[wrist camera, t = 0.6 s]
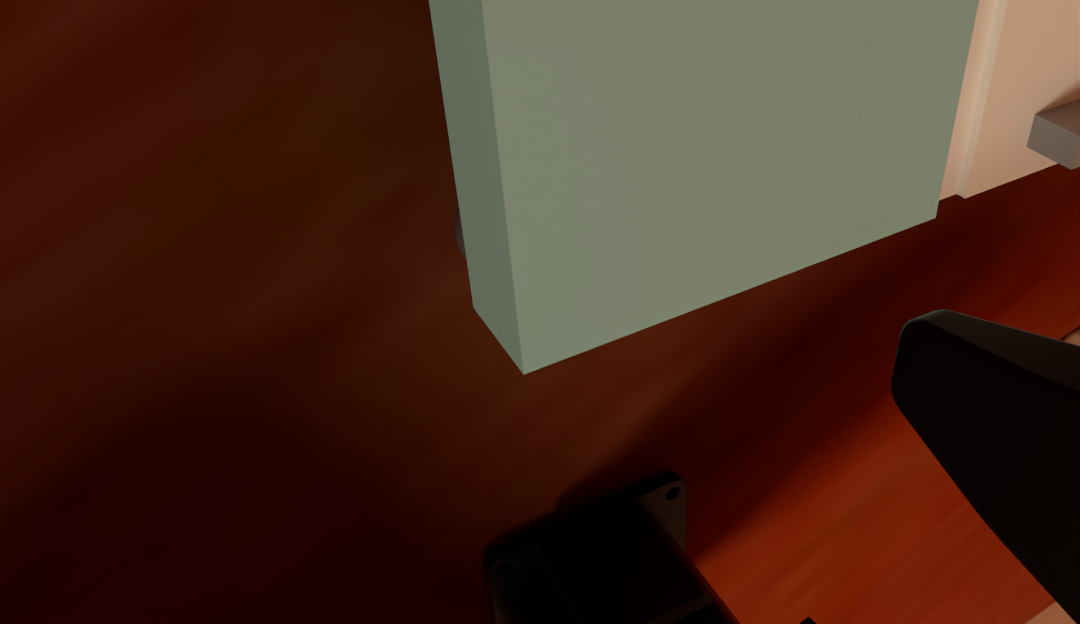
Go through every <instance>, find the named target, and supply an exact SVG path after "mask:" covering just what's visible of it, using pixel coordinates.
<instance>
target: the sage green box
mask: <svg viewBox="0 0 1080 624" xmlns="http://www.w3.org/2000/svg"><path fill="white" fill-rule="evenodd" d="M429 4H430V11H431V18H432V25H433V32H434V39H435V46H436V53H437V59H438V66H439V73H440V80H441V87H442V94H443V101H444V107H445V114H446V121H447V128H448V135H449V142H450V149H451V156H452V162H453V169H454V176H455V183H456V190H457V197H458V204H459V207H458V209H457V212H456V216H455V221H454V231H455V238H456V241H457V244H458V246H459V249H460V250H461V252H462V253H463V255H464V256H465V257H466V259H467V265H468V272H469V279H470V286H471V293H472V300H473V307H474V309H475V310H476V312H477V313H478V314H479V316H480V317H481V318H482V320H483V321H484V322H485V324H486V325H487V326H488V328H489V329H490V330H491V332H492V333H493V334H494V336H495V337H496V338H497V340H498V341H499V342H500V344H501V345H502V346H503V348H504V349H505V350H506V352H507V353H508V354H509V356H510V357H511V358H512V360H513V361H514V362H515V364H516V365H517V366H518V368H519V369H520V370H521V372H522V373H523V374H527V373H529V372H532V371H534V370H537V369H540V368H542V367H545V366H548V365H550V364H553V363H555V362H558V361H561V360H563V359H566V358H569V357H571V356H574V355H577V354H579V353H582V352H584V351H587V350H590V349H592V348H595V347H598V346H600V345H603V344H605V343H608V342H611V341H613V340H616V339H619V338H621V337H624V336H626V335H629V334H632V333H634V332H637V331H640V330H642V329H645V328H647V327H650V326H653V325H655V324H658V323H661V322H663V321H666V320H668V319H671V318H674V317H676V316H679V315H682V314H684V313H687V312H690V311H692V310H695V309H697V308H700V307H703V306H705V305H708V304H711V303H713V302H716V301H718V300H721V299H724V298H726V297H729V296H732V295H734V294H737V293H739V292H742V291H745V290H747V289H750V288H753V287H755V286H758V285H760V284H763V283H766V282H768V281H771V280H774V279H776V278H779V277H781V276H784V275H787V274H789V273H792V272H795V271H797V270H800V269H803V268H805V267H808V266H810V265H813V264H816V263H818V262H821V261H824V260H826V259H829V258H831V257H834V256H837V255H839V254H842V253H845V252H847V251H850V250H852V249H855V248H858V247H860V246H863V245H866V244H868V243H871V242H873V241H876V240H879V239H881V238H884V237H887V236H889V235H892V234H895V233H897V232H900V231H902V230H905V229H908V228H910V227H913V226H916V225H918V224H921V223H923V222H926V221H929V220H931V219H934V218H936V213H937V208H938V203H939V198H940V193H941V188H942V183H943V178H944V173H945V168H946V163H947V158H948V153H949V148H950V143H951V138H952V133H953V128H954V123H955V118H956V113H957V108H958V103H959V98H960V93H961V88H962V83H963V78H964V73H965V68H966V63H967V59H968V54H969V49H970V44H971V39H972V34H973V29H974V24H975V19H976V14H977V9H978V4H979V0H429Z"/></svg>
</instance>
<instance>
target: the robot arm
mask: <svg viewBox="0 0 1080 624" xmlns="http://www.w3.org/2000/svg"><path fill="white" fill-rule="evenodd" d="M891 392H892V395H893V399H894V401H895V403H896V405H897V406H898V408H899V410H900V411H901V412H902V414H903V415H904V416H905V417H906V419H907V420H908V421H909V423H910V424H911V425H912V427H913V428H914V429H915V431H916V432H917V433H918V435H919V436H920V437H921V439H922V440H923V441H924V443H925V444H926V445H927V447H928V448H929V449H930V451H931V452H932V453H933V455H934V456H935V457H936V459H937V460H938V461H939V463H940V464H941V465H942V467H943V468H944V469H945V471H946V472H947V473H948V475H949V476H950V477H951V479H952V480H953V481H954V483H955V484H956V485H957V487H958V488H959V489H960V491H961V492H962V493H963V495H964V496H965V497H966V499H967V500H968V501H969V503H970V504H971V505H972V507H973V508H974V509H975V510H976V512H977V513H978V514H979V515H980V517H981V518H982V519H983V520H984V522H985V523H986V524H987V525H988V526H989V528H990V529H991V530H992V531H993V532H994V533H995V535H996V536H997V537H998V538H999V539H1000V540H1001V541H1002V543H1003V544H1004V545H1005V546H1006V547H1007V548H1008V549H1009V550H1010V551H1011V552H1012V554H1013V555H1014V556H1015V557H1016V558H1017V559H1018V560H1019V561H1020V562H1021V563H1022V564H1023V566H1024V567H1025V568H1026V569H1027V570H1028V571H1029V572H1030V573H1031V574H1032V575H1033V576H1034V578H1035V579H1036V580H1037V581H1038V582H1039V583H1040V584H1041V585H1042V586H1043V587H1044V589H1045V590H1046V591H1047V592H1048V593H1049V594H1050V595H1051V596H1052V597H1053V598H1054V599H1055V601H1056V602H1057V603H1058V604H1059V605H1060V606H1061V607H1062V608H1063V609H1064V610H1065V612H1066V613H1067V614H1068V615H1069V616H1070V617H1071V618H1072V619H1073V620H1074V621H1075V622H1076V624H1080V346H1079V345H1075V344H1072V343H1068V342H1064V341H1061V340H1057V339H1053V338H1050V337H1046V336H1042V335H1039V334H1035V333H1031V332H1028V331H1024V330H1020V329H1017V328H1013V327H1009V326H1006V325H1002V324H998V323H995V322H991V321H987V320H984V319H980V318H976V317H973V316H969V315H965V314H962V313H958V312H954V311H951V310H943V309H941V310H935V311H932V312H929V313H927V314H924V315H922V316H919V317H916V318H914V319H911V320H909V321H908V322H906V324H905V325H904V326H903V328H902V330H901V333H900V338H899V343H898V348H897V353H896V358H895V363H894V368H893V373H892V378H891ZM686 509H687V485H686V483H685V482H684V480H683V479H682V478H681V477H680V476H679V475H678V474H677V473H676V472H669V473H665V474H663V475H661V476H658V477H656V478H654V479H651V480H649V481H647V482H645V483H642V484H640V485H638V486H635V487H633V488H631V489H629V490H626V491H624V492H622V493H619V494H617V495H615V496H612V497H610V498H608V499H606V500H603V501H601V502H599V503H596V504H594V505H592V506H589V507H587V508H585V509H583V510H580V511H578V512H576V513H573V514H571V515H569V516H567V517H564V518H562V519H560V520H557V521H555V522H553V523H550V524H548V525H546V526H544V527H541V528H539V529H537V530H534V531H532V532H530V533H527V534H525V535H523V536H521V537H518V538H516V539H514V540H511V541H509V542H507V543H504V544H502V545H500V546H498V547H496V548H494V549H492V550H491V551H490V552H489V553H488V554H487V555H486V556H485V558H484V559H483V565H482V566H483V571H484V577H485V583H486V589H487V594H488V600H489V606H490V612H491V617H492V623H493V624H740V623H739V621H738V620H737V619H736V617H735V616H734V615H733V614H732V612H731V611H730V610H729V608H728V607H727V606H726V605H725V603H724V602H723V601H722V599H721V598H720V597H719V596H718V594H717V593H716V592H715V590H714V589H713V588H712V587H711V585H710V584H709V583H708V581H707V580H706V579H705V578H704V576H703V575H702V574H701V572H700V571H699V570H698V569H697V567H696V566H695V565H694V563H693V562H692V561H691V560H690V558H689V557H688V556H687V554H686V553H685V550H686ZM799 624H816V623H815V622H814V621H813V620H812V619H811V618H810V617H807V618H806V619H805V620H803V621H802V622H801V623H799Z"/></svg>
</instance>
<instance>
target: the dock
mask: <svg viewBox="0 0 1080 624" xmlns="http://www.w3.org/2000/svg"><path fill="white" fill-rule="evenodd" d="M1058 163H1059V164H1061V165H1063V166H1065V167H1067V168H1069V169H1071V170H1072V169H1075V168H1077V167H1080V0H979V4H978V9H977V14H976V19H975V24H974V29H973V34H972V39H971V44H970V49H969V54H968V59H967V63H966V68H965V73H964V78H963V83H962V88H961V93H960V98H959V103H958V108H957V113H956V118H955V123H954V128H953V133H952V138H951V143H950V148H949V153H948V158H947V163H946V168H945V173H944V178H943V183H942V188H941V193H940V198H939V200H942V199H944V198H947V197H950V196H952V195H955V194H958V195H959V196H961V197H963V198H968V197H970V196H973V195H976V194H978V193H981V192H984V191H986V190H989V189H991V188H994V187H997V186H999V185H1002V184H1005V183H1007V182H1010V181H1013V180H1015V179H1018V178H1021V177H1023V176H1026V175H1029V174H1031V173H1034V172H1037V171H1039V170H1042V169H1044V168H1047V167H1050V166H1052V165H1055V164H1058Z"/></svg>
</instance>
